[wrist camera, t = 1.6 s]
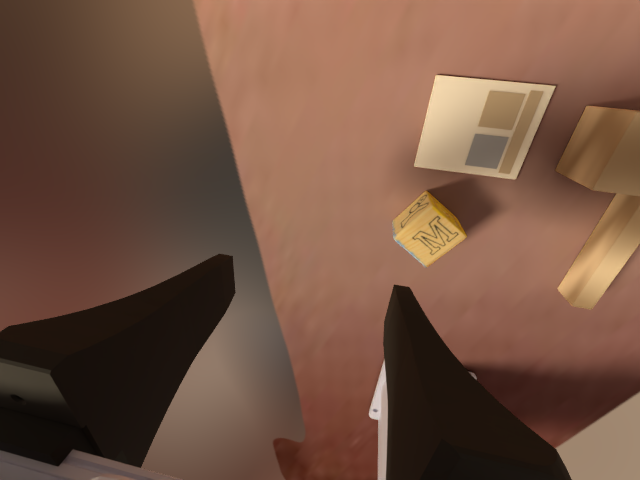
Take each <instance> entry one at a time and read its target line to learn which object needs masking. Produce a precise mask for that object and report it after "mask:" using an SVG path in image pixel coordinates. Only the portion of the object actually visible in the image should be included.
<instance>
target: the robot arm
mask: <svg viewBox="0 0 640 480" xmlns="http://www.w3.org/2000/svg"><path fill="white" fill-rule="evenodd" d="M234 294H235V281H234V269H233V256H229V255H223V254H218V255H216V256H214V257H212V258H210V259H208V260H206V261H204V262H202V263H200V264H198V265H196V266H194V267H192V268H190V269H188V270H187V271H185V272H182V273H181V274H179V275H177V276H175V277H172V278H170V279H168V280H166V281H164V282H162V283H160V284H157V285H155V286H153V287H151V288H148V289H146V290H143V291H141V292H138V293H136V294H133V295H131V296H128V297H125V298H122V299H119V300H116V301H113V302H109V303H107V304H103V305H100V306H97V307H94V308H90V309H87V310H83V311H79V312H75V313H71V314H67V315H63V316H58V317H54V318H49V319H44V320H39V321H34V322H29V323H23V324H19V325H12V326H8V327H7V328H5V329H4V330H2V331H1V332H0V480H182V479H179V478H175V477H171V476H168V475H164V474H160V473H157V472H153V471H150V470H146V469H142V468H141V466H142V464H143V462H144V459H145V457H146V455H147V452H148V450H149V448H150V446H151V443H152V441H153V439H154V437H155V435H156V432H157V430H158V428H159V426H160V424H161V422H162V420H163V418H164V416H165V414H166V411H167V409H168V407H169V405H170V403H171V401H172V399H173V398H174V395H175V393H176V392H177V390H178V388H179V386H180V384H181V382H182V380H183V378H184V376H185V375H186V373H187V371H188V369H189V367H190V365H191V364H192V362H193V360H194V359H195V357H196V356H197V354H198V352H199V351H200V350H201V348H202V347H203V345H204V344H205V342H206V341H207V339H208V338H209V336H210V335H211V333H212V332H213V330H214V329H215V327H216V326H217V325H218V323H219V321H220V320H221V318H222V317H223V316H224V314H225V312H226V310H227V308H228V307H229V305H230V303H231V301H232V299H233V296H234ZM383 345H384V362H383V365H382V369H381V372H380V376H379V379H378V383H377V386H376V389H375V393H374V396H373V400H372V403H371V407H370V410H369V416H370V417H371V418H373V419H377V420H378V480H571V477H570V475H569V473H568V471H567V469H566V467H565V465H564V463H563V461H562V459H561V458H560V456H559V454H558V452H557V450H556V449H555V448H554V447H552V446H551V445H550V444H549V443H547V442H546V441H545V440H544V439H542V438H541V437H540V436H539V435H537V434H536V433H535V432H534V431H532V430H531V429H530V428H529V427H527V426H526V425H525V424H524V423H522V422H521V421H520V420H519V419H518V418H516V417H515V416H514V415H513V414H512V413H511V412H510V411H508V410H507V409H506V408H505V407H504V406H503V405H502V404H501V403H499V402H498V401H497V400H496V399H495V398H494V397H493V396H492V395H491V394H490V393H489V392H488V391H487V390H486V389H485V388H484V387H483V386H482V385H481V384H480V383H479V382H478V381H477V377H476V375H475V374H474V373H472V372H468V371H467V370H466V368H465V367H464V366H463V365H462V364H461V363H460V362H459V360H458V359H457V358H456V357H455V356H454V355H453V353H452V352H451V351H450V350H449V348H448V347H447V346H446V344H445V343H444V342H443V340H442V339H441V338H440V336H439V335H438V333H437V332H436V330H435V329H434V327H433V326H432V324H431V323H430V321H429V320H428V318H427V317H426V315H425V313H424V312H423V310H422V308H421V307H420V305H419V303H418V301H417V300H416V298H415V296H414V294H413V292H412V291H411V289H410V288H409V287H405V286H399V285H394V287H393V291H392V294H391V298H390V302H389V306H388V309H387V313H386V317H385V321H384V342H383Z"/></svg>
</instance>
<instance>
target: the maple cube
mask: <svg viewBox="0 0 640 480" xmlns="http://www.w3.org/2000/svg"><path fill="white" fill-rule="evenodd" d="M555 171H556V172H558V173H560V174H562V175H564V176H566V177H568V178H570V179H571V180H573V181H575V182H577V183H579V184H581V185H583V186H585V187H587V188H589V189H591V190H594V191H602V192H609V193H617V194H625V195H633V196H640V111H637V110H627V109H617V108H607V107H596V106H586V108H585V110H584V112H583V114H582V116H581V118H580V120H579V122H578V124H577V126H576V128H575V130H574V132H573V134H572V137H571V139H570V141H569V143H568V145H567V147H566V149H565V151H564V153H563V155H562V157H561V159H560V161H559V163H558V165H557V167H556V169H555Z"/></svg>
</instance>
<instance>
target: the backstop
mask: <svg viewBox="0 0 640 480" xmlns="http://www.w3.org/2000/svg"><path fill="white" fill-rule="evenodd" d="M639 244H640V196H633V195H625V194H616V195H615V197H614V198H613V200H612V202H611V203H610V205H609V206H608V208H607V210H606V211H605V213H604V214H603V216H602V218H601V219H600V221H599V223H598V224H597V226H596V227H595V229H594V231H593V232H592V234H591V235H590V237H589V239H588V240H587V242H586V244H585V245H584V247H583V248H582V250H581V252H580V253H579V255H578V256H577V258H576V260H575V261H574V263H573V265H572V266H571V268H570V269H569V271H568V273H567V274H566V276H565V277H564V279H563V281H562V282H561V284H560V286H559V287H558V290H559V292H560V293H561V294H562V295H563V296H564V297H565V299H566V300H567V301H568V302H569V303H570V305H571V306H574V307H580V308H586V309H592V308H593V307H594V306H595V304H596V303H597V301H598V300H599V299H600V297H601V296H602V295H603V293H604V292H605V290H606V289H607V288H608V286H609V285H610V284H611V282H612V281H613V279H614V278H615V277H616V275H617V274H618V273H619V271H620V270H621V268H622V267H623V266H624V264H625V263H626V262H627V260H628V259H629V257H630V256H631V255H632V253H633V252H634V251H635V249H636V248H637V246H638V245H639Z"/></svg>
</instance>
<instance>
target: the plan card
mask: <svg viewBox="0 0 640 480" xmlns="http://www.w3.org/2000/svg"><path fill="white" fill-rule="evenodd" d="M555 87H556V86H551V85H540V84H529V83H518V82H507V81H496V80H486V79H475V78H464V77H453V76H442V75H436V77H435V81H434V85H433V89H432V93H431V97H430V101H429V105H428V109H427V114H426V118H425V122H424V126H423V130H422V134H421V138H420V142H419V146H418V150H417V155H416V159H415V163H414V167H421V168H429V169H437V170H445V171H452V172H460V173H468V174H476V175H483V176H491V177H499V178H507V179H515V180H516V178H517V175H518V173H519V171H520V168H521V166H522V164H523V161H524V159H525V157H526V154H527V152H528V150H529V147H530V145H531V143H532V140H533V138H534V136H535V133H536V131H537V129H538V126H539V124H540V122H541V119H542V117H543V115H544V112H545V110H546V108H547V105H548V103H549V101H550V98H551V96H552V94H553V91H554V89H555Z"/></svg>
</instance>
